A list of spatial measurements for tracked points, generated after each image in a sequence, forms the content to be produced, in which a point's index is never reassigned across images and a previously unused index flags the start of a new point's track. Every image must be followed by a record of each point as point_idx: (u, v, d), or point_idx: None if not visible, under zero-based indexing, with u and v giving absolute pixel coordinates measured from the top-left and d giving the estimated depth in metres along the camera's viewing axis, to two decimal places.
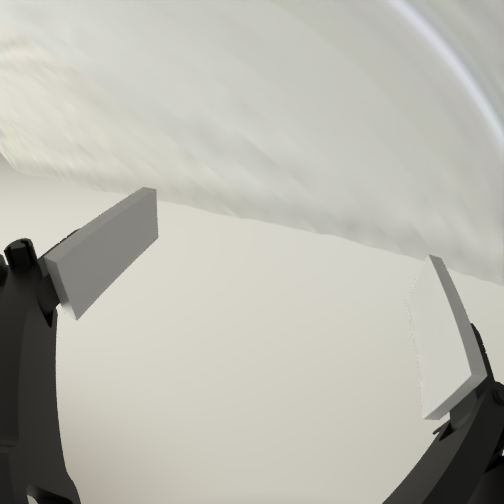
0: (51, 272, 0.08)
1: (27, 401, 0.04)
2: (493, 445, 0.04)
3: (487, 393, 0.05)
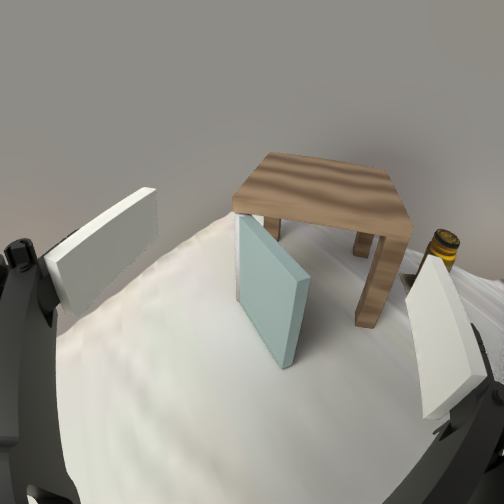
0: (51, 272, 0.08)
1: (27, 401, 0.04)
2: (493, 445, 0.04)
3: (487, 393, 0.05)
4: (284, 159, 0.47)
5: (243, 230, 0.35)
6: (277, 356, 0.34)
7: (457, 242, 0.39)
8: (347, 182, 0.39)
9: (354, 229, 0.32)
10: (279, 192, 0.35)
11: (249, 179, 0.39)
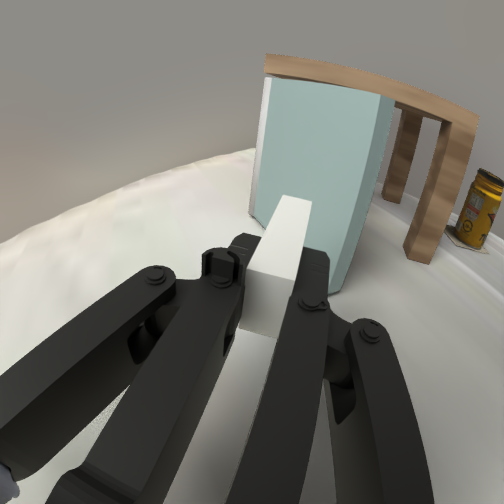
0: (250, 285, 0.09)
1: (169, 449, 0.04)
2: (324, 355, 0.06)
3: (289, 306, 0.08)
4: None
5: (277, 91, 0.23)
6: None
7: (503, 181, 0.28)
8: None
9: (417, 106, 0.20)
10: None
11: None
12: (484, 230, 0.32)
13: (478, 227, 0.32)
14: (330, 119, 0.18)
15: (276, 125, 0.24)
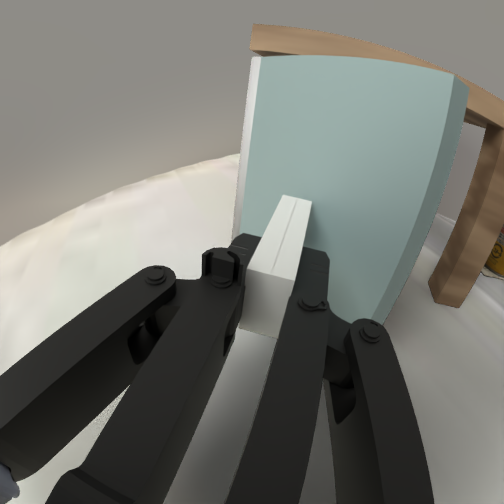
0: (250, 285, 0.09)
1: (169, 450, 0.04)
2: (324, 355, 0.06)
3: (289, 306, 0.08)
4: None
5: (268, 75, 0.15)
6: None
7: None
8: None
9: None
10: None
11: None
12: None
13: None
14: (356, 114, 0.10)
15: (267, 123, 0.16)
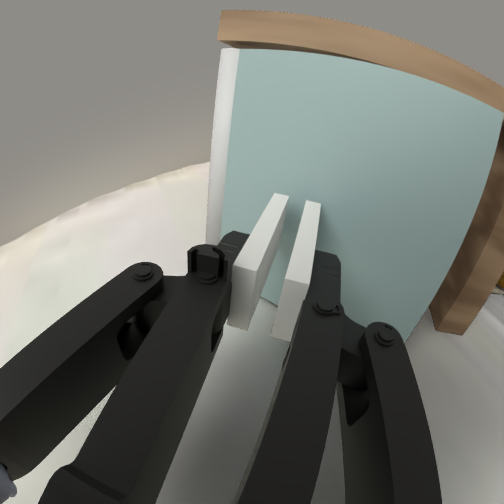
0: (237, 281, 0.09)
1: (159, 444, 0.04)
2: (337, 359, 0.06)
3: (304, 309, 0.07)
4: None
5: (256, 71, 0.13)
6: None
7: None
8: None
9: None
10: None
11: None
12: None
13: None
14: (407, 130, 0.10)
15: (261, 130, 0.14)
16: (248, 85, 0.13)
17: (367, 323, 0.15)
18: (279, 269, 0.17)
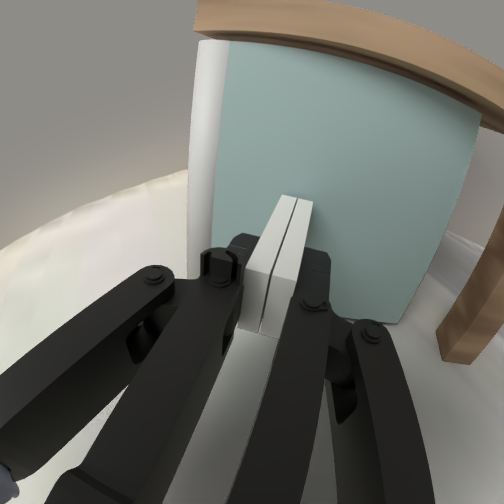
0: (249, 284, 0.09)
1: (167, 449, 0.04)
2: (325, 355, 0.06)
3: (291, 306, 0.08)
4: None
5: (255, 69, 0.11)
6: (388, 309, 0.17)
7: None
8: None
9: None
10: None
11: None
12: None
13: None
14: (413, 131, 0.11)
15: (262, 135, 0.13)
16: (244, 84, 0.11)
17: (378, 297, 0.17)
18: None
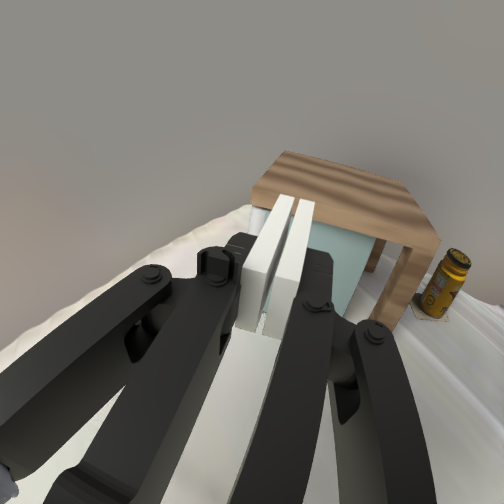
0: (246, 284, 0.09)
1: (166, 448, 0.04)
2: (328, 356, 0.06)
3: (294, 307, 0.08)
4: (301, 159, 0.44)
5: None
6: None
7: (469, 263, 0.37)
8: (369, 189, 0.36)
9: (382, 237, 0.28)
10: (303, 189, 0.31)
11: (268, 172, 0.35)
12: (445, 304, 0.40)
13: (439, 302, 0.41)
14: (340, 245, 0.32)
15: None
16: None
17: None
18: None
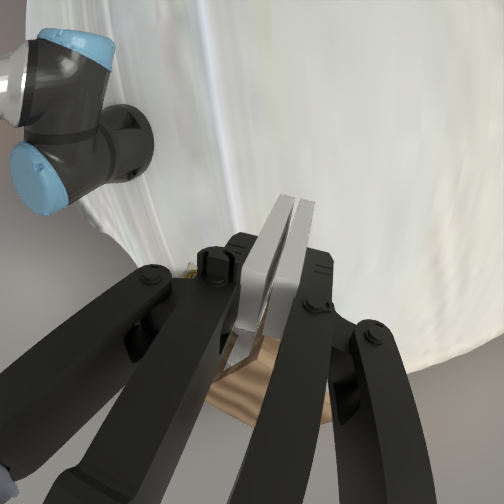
0: (246, 284, 0.09)
1: (165, 448, 0.04)
2: (328, 356, 0.06)
3: (294, 307, 0.08)
4: None
5: None
6: None
7: None
8: (255, 400, 0.46)
9: None
10: None
11: (323, 422, 0.46)
12: None
13: None
14: None
15: None
16: None
17: None
18: None
